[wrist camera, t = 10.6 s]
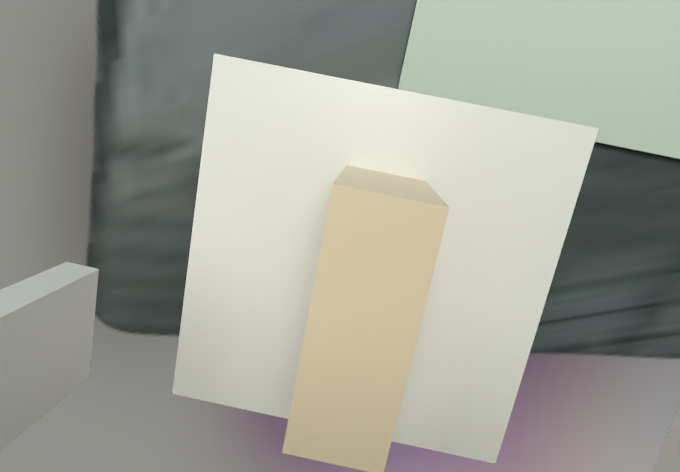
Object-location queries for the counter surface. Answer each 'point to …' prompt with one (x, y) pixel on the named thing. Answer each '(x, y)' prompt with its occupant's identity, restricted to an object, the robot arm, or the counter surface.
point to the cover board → (288, 225)
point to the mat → (557, 63)
